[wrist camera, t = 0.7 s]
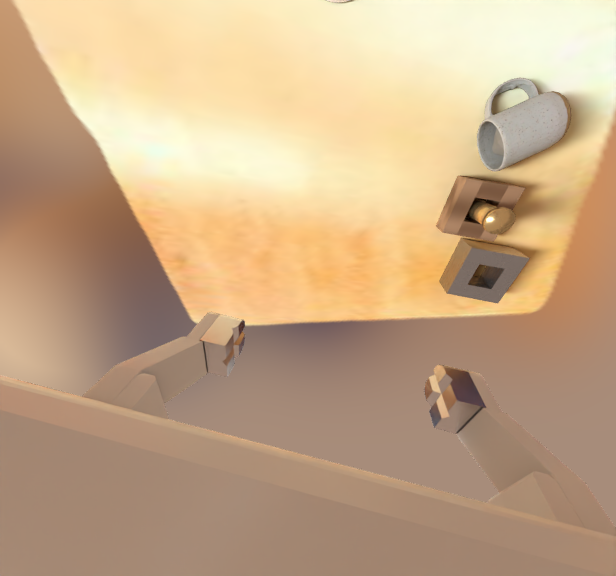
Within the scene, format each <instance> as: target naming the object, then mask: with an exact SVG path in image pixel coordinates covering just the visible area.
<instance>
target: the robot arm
mask: <svg viewBox="0 0 616 576" xmlns="http://www.w3.org/2000/svg"><path fill="white" fill-rule="evenodd" d="M326 1H329V2H337V3H338V2H346V1H350V0H326ZM244 328H245V321H244V320H242V319H238V318H234V317H230V316H226V315H221V314H217V313H213V312H209V313H207V314H206V315H205V316H204V318H203V319H202V320H201V321H200V322H199V323H198V324H197V326H196V327H195V328H194V329H193V330H192V331H191V332H190V334H189V335H188V336H187V337H181V338H178V339H176V340H173V341H171V342H169V343H166V344H164V345H162V346H160V347H157V348H155V349H152V350H150V351H148V352H145V353H143V354H140V355H138V356H136V357H133V358H131V359H129V360H126V361H124V362H122V363H119V364H117V365H115V366H114V367H113V368H112V369H111V370H110V371H109V372H108V373H107V374H106V375H104V377H102V378H101V379H100V380H99V381H98V382H97V383H96V384H95V385H94V386H93V387H91V388H90V389H89V390H88V391H87V392H86V393H85V394H84V395H83V396H78V395H74V394H70V393H67V392H63V391H59V390H55V389H51V388H48V387H44V386H40V385H36V384H32V383H29V382H25V381H21V380H17V379H13V378H9V377H6V376H2V375H0V576H616V527H615V526H614V524H613V523H612V521H611V520H610V518H609V517H608V516H607V514H606V513H605V511H604V510H603V508H602V507H601V505H600V504H599V502H598V501H597V499H596V498H595V496H594V495H593V494H592V492H591V491H590V489H589V488H588V486H587V485H586V483H585V482H584V481H583V480H581V479H580V478H579V477H578V476H577V475H576V474H575V473H574V472H572V471H571V470H570V469H569V468H568V467H567V466H566V465H565V464H563V463H562V462H561V461H560V460H559V459H558V458H557V457H556V456H554V455H553V454H552V453H551V452H550V451H549V450H548V449H547V448H545V447H544V446H543V445H542V444H541V443H540V442H539V441H538V440H536V439H535V438H534V437H533V436H532V435H531V434H530V433H529V432H527V431H526V430H525V429H524V428H523V427H522V426H521V425H519V424H518V423H517V422H516V421H515V420H514V419H513V418H512V417H510V416H509V415H508V414H507V413H504V412H502V411H501V409H500V407H499V405H498V403H497V401H496V400H495V398H494V396H493V394H492V393H491V391H490V389H489V387H488V385H487V383H486V382H485V380H484V378H483V376H482V375H481V374H479V373H477V372H472V371H467V370H462V369H458V368H453V367H448V366H444V365H438V366H436V367H435V369H434V370H433V371H434V374H435V375H433V376H430V377H429V378H428V379H427V381H426V382H425V388H424V390H425V391H424V392H425V397H426V401H427V402H428V403H429V404H430V405H431V409H430V411H429V412H430V416H431V419H432V423H433V426H434V428H436V429H440V430H444V431H447V432H451V433H455V434H457V437H458V438H459V439H460V441H461V442H462V443H463V445H464V446H465V447H466V449H467V450H468V451H469V453H470V454H471V455H472V457H473V458H474V460H475V461H476V462H477V464H478V465H479V466H480V468H481V469H482V470H483V472H484V473H485V474H486V476H487V477H488V478H489V480H490V481H491V482H492V484H493V485H494V486H495V488H496V489H497V490H498V492H499V493H498V494H497V495H495V496H494V497H492V498H490V500H489V501H488V503H486V502H482V501H479V500H475V499H471V498H467V497H463V496H459V495H455V494H452V493H448V492H444V491H440V490H437V489H433V488H429V487H425V486H421V485H418V484H414V483H410V482H406V481H402V480H399V479H394V478H391V477H387V476H383V475H380V474H376V473H372V472H368V471H364V470H360V469H356V468H353V467H349V466H345V465H342V464H338V463H333V462H330V461H326V460H322V459H319V458H315V457H311V456H307V455H303V454H299V453H296V452H292V451H288V450H284V449H280V448H277V447H272V446H269V445H265V444H261V443H257V442H254V441H250V440H246V439H242V438H238V437H235V436H230V435H227V434H223V433H219V432H215V431H212V430H208V429H204V428H200V427H196V426H192V425H189V424H184V423H181V422H177V421H173V420H169V417H168V413H167V410H166V407H165V403H166V402H168V401H169V400H171V399H172V398H173V397H175V396H176V395H178V394H179V393H181V392H182V391H184V390H185V389H186V388H188V387H189V386H191V385H192V384H194V383H195V382H196V381H198V380H199V379H201V378H202V377H204V376H205V375H207V373H210V374H215V375H220V376H224V377H228V375H229V373H230V371H231V370H232V368H233V366H234V364H235V362H234V358H236V357H238V356H239V355H240V353H241V351H242V348H243V346H244V342H245V334H244V333H243V329H244Z"/></svg>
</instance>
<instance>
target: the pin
mask: <svg viewBox="0 0 616 576" xmlns="http://www.w3.org/2000/svg"><path fill="white" fill-rule="evenodd" d="M467 215H468V216H469V217H471V218H472V219H474V220H476V221H477V222H479V223H480V224H482V227H483V228H484V230H486V231H487V232H489V233H491V234H500V233H503V232H505V231H507V230H508V229H510V228H511V226H512V225H513V224H514V222H515V213H514V212H513V211H512V210H510V209H508V208H505V207H495V206H493V205H491V204H489V203H486V202H484V201H482V200H480V199H477V198H475V199H474V201H473V203H472V205H471V207H470V209H469V211H468V213H467Z"/></svg>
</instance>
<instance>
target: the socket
mask: <svg viewBox="0 0 616 576" xmlns="http://www.w3.org/2000/svg"><path fill="white" fill-rule="evenodd" d="M529 259H530V258H529V257H527V256H526V255H524V254H523V253H521V252H520V251H518V250H517V249H515V248H513V247H507V246H502V245H496V244H490V243H485V242H479V241H474V240H468V239H462V238H461V239H460V241H459V243H458V245H457V247H456V249H455V251H454V253H453V255H452V257H451V259H450V261H449V263H448V265H447V267H446V269H445V271H444V273H443V275H442V277H441V279H440V281H439V282H440V283H441V285H442V286H443V288H444V290H445V291H446V293H447V294H453V295H458V296H463V297H468V298H473V299H478V300H483V301H488V302H494V303H498V302H499V301H500V300H501V298H502V297H503V295H504V294H505V293H506V291H507V290H508V288H509V287H510V286H511V284H512V283H513V281H514V280H515V279H516V277H517V276H518V274H519V273H520V272H521V270H522V269H523V267H524V266H525V265H526V263H527V262H528V260H529ZM479 264H481V265H486V267H485V269H484V271H483V272H482V274H481V275H480V277H478V276H473V274H474V273H475V271H476V269H477V268H478V266H479Z"/></svg>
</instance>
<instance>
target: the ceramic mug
mask: <svg viewBox="0 0 616 576" xmlns="http://www.w3.org/2000/svg"><path fill="white" fill-rule="evenodd" d="M515 87H519V88H521V89H523V90H524V91H525V92H526V93H527V95H528V96H529V99H528V100H526V101H524V102H522V103H520V104H518V105H515V106H513V107H511V108H508V109H506V110H504V111H502V112H500V113H497V114H495V115H493V114H492V112H491V109H492V101H493V98H494V97H495V95H497V94H499V93H501V92H504V91H506V90H509V89H514V88H515ZM570 120H571V109H570V105H569V103H568V101H567V99H566V98H565V97H564V96H563V95H562V94H560V93H558V92H554V91H552V92H547V93H543V94H540V95H539V94H538V90H537V87H536V86H535V84H534V83H533V82H532V81H531V80H529V79H525V78H515V79H511V80H509V81H507V82H504V83H503V84H501V85H500V86H498V87H497V88H496V89H495V90H494V92H493V93H492V94H491V96H490V97H489V99H488V101H487V103H486V107H485V120H483V121H482V123H481V124H480V126H479V129H478V134H477V146H478V151H479V154H480V158H481V160H482V162H483V163H484V165H485V166H486V167H487V168H488V169H489V170H491V171H499V170H502V169H504V168H506V167H508V166H510V165H512V164H515V163H517V162H519V161H521V160H523V159H525V158H527V157H529V156H532V155H534V154H536V153H538V152H541V151H543V150H545V149H547V148H549V147H550V146H552V145H553V144H555V143H557V142H558V141H559V140H560V139H561V138H562V137H563V136H564V135H565V133H566V132H567V129H568V127H569V125H570Z"/></svg>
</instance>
